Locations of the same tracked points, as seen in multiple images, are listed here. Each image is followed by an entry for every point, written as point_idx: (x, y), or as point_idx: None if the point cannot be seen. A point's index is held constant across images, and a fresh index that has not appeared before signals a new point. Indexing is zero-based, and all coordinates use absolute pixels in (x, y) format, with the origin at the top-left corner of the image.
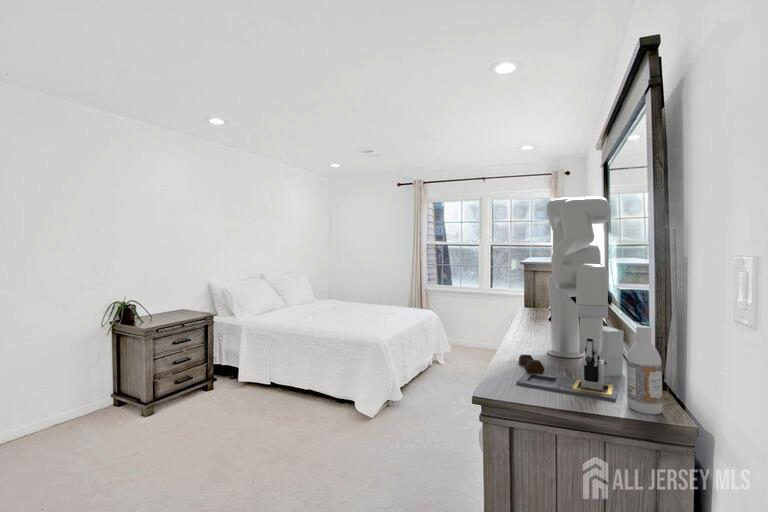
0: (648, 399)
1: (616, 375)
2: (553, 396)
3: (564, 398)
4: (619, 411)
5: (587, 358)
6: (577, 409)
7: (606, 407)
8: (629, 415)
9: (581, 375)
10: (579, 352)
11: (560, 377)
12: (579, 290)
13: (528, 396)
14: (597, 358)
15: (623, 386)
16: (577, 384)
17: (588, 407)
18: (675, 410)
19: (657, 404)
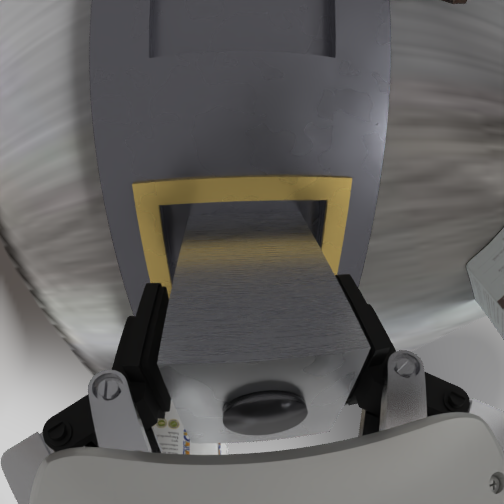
0: None
1: (478, 296)
2: (84, 96)
3: (89, 149)
4: (107, 336)
5: (25, 443)
6: (18, 231)
7: (110, 307)
8: (99, 354)
9: (177, 273)
10: (45, 458)
11: (367, 78)
12: None
13: (28, 18)
14: (365, 406)
15: (403, 318)
16: (245, 195)
17: (61, 258)
18: None
19: None
